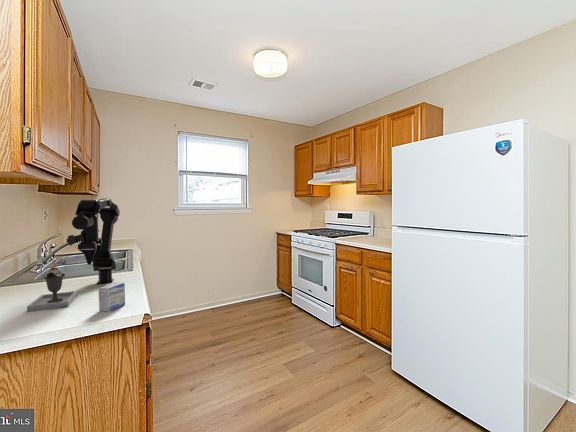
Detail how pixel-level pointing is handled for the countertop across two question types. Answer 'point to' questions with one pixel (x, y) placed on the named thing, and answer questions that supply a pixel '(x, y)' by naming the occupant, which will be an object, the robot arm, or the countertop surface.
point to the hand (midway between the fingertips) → (91, 262)
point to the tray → (43, 305)
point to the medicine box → (111, 297)
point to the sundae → (54, 283)
